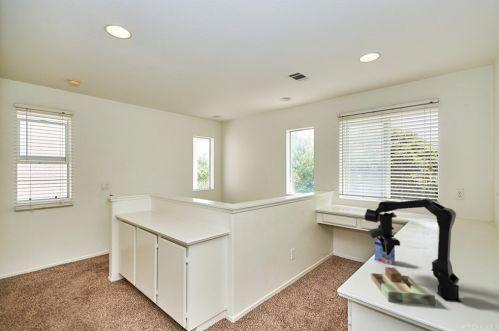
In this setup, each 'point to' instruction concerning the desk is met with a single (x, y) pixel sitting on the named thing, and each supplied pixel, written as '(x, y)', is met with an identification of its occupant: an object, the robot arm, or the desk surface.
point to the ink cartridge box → (384, 254)
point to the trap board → (403, 290)
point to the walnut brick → (393, 274)
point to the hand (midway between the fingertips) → (385, 253)
